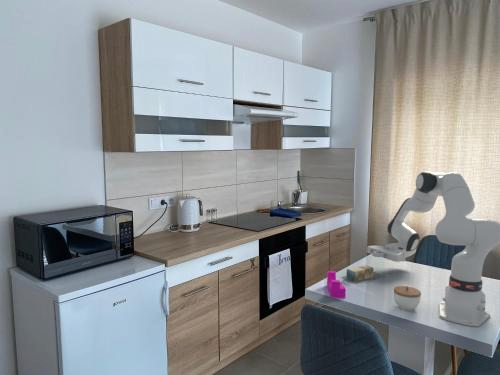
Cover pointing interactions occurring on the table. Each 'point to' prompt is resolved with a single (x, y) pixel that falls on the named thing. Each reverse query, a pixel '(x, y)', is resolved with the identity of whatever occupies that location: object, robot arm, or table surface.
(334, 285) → the toy block
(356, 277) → the tall block
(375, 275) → the mat
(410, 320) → the table surface
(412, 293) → the lidded jar
